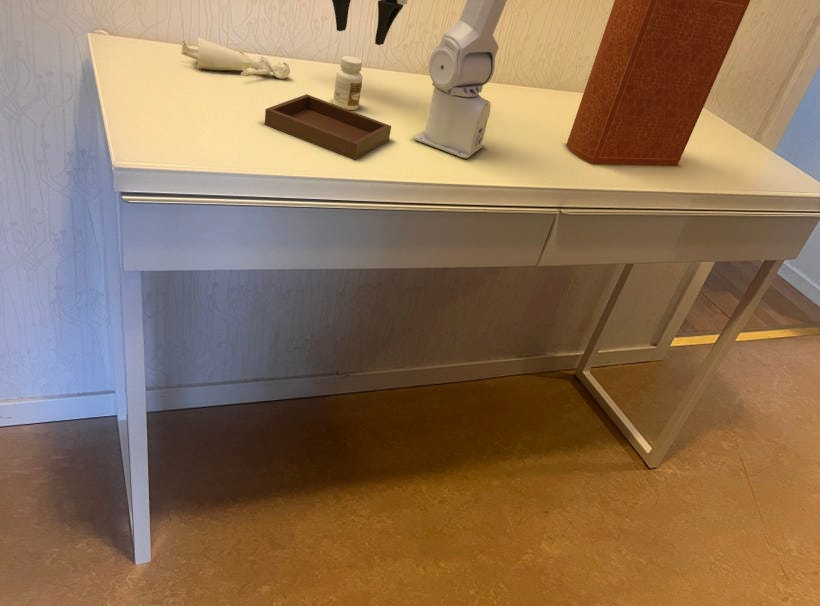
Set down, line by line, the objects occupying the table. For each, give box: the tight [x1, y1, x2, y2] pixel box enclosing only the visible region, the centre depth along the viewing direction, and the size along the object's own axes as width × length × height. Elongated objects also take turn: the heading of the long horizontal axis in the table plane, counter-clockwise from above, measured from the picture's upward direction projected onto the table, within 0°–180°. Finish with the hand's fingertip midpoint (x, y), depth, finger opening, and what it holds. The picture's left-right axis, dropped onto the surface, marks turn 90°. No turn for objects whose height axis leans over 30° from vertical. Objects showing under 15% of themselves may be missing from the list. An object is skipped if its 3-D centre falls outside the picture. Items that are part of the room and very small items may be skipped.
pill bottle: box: [332, 55, 364, 111], centre depth 117 cm, size 4×4×8 cm
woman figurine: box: [181, 36, 291, 80], centre depth 120 cm, size 12×4×18 cm
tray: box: [264, 93, 392, 160], centre depth 108 cm, size 16×12×2 cm
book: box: [565, 0, 751, 167], centre depth 123 cm, size 23×8×30 cm, turn 117°
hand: (360, 37), depth 121 cm, fingers open, 7 cm apart
